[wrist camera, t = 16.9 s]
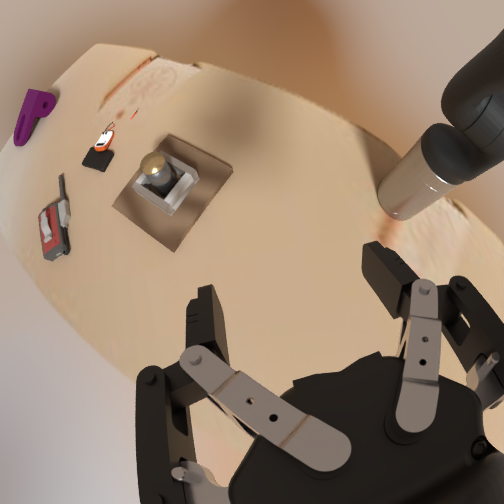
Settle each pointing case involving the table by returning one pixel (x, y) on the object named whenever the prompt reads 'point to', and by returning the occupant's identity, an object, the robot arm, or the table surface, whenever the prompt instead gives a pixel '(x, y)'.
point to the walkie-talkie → (55, 227)
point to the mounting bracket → (32, 113)
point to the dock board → (173, 193)
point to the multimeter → (100, 152)
